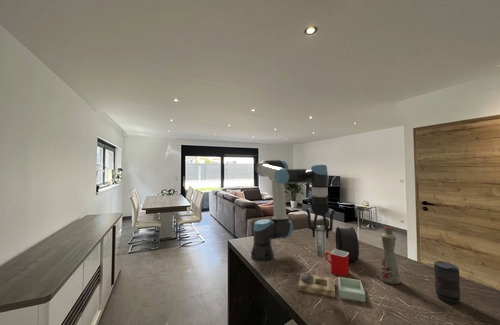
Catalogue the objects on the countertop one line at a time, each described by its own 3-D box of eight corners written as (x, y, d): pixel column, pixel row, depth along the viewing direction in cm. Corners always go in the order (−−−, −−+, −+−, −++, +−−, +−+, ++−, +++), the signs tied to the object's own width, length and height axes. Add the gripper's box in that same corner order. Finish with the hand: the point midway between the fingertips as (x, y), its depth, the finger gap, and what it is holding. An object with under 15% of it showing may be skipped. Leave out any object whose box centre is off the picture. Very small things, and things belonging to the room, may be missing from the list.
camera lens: (430, 294, 93) (428, 261, 94) (446, 293, 94) (444, 260, 95) (448, 306, 85) (447, 269, 86) (466, 305, 86) (464, 268, 87)
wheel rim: (359, 267, 121) (358, 232, 121) (342, 265, 122) (342, 231, 123) (350, 253, 140) (349, 224, 141) (335, 252, 142) (335, 223, 143)
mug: (350, 272, 115) (349, 252, 115) (345, 277, 109) (344, 257, 109) (328, 265, 123) (328, 247, 123) (323, 270, 117) (322, 251, 117)
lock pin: (315, 256, 99) (314, 227, 99) (315, 253, 103) (315, 224, 104) (326, 258, 97) (325, 228, 98) (326, 254, 102) (325, 225, 102)
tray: (339, 298, 91) (339, 289, 91) (338, 284, 103) (338, 276, 103) (365, 302, 88) (365, 294, 88) (360, 287, 99) (360, 280, 99)
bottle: (401, 287, 99) (399, 228, 101) (379, 282, 104) (377, 226, 105) (399, 279, 107) (397, 224, 108) (379, 275, 112) (377, 222, 113)
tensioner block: (298, 290, 97) (298, 281, 98) (301, 277, 109) (301, 269, 109) (335, 297, 92) (334, 287, 92) (333, 283, 103) (333, 274, 103)
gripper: (301, 196, 101) (302, 244, 100) (338, 197, 95) (339, 249, 94) (303, 194, 108) (303, 240, 107) (337, 195, 102) (338, 243, 101)
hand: (320, 244), depth 100 cm, fingers closed on lock pin, 3 cm apart
